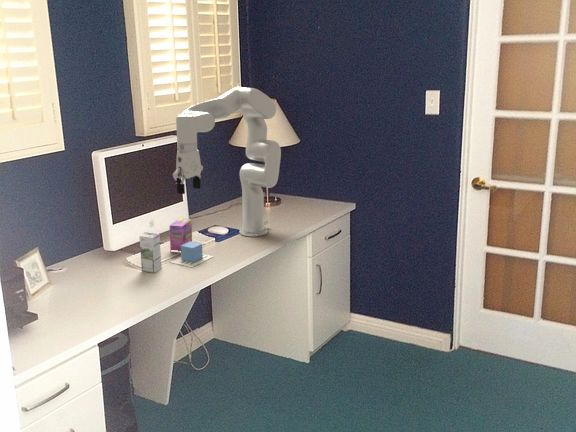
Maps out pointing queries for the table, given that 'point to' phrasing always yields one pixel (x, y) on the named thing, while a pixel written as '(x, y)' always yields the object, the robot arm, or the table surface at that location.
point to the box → (180, 233)
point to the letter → (190, 264)
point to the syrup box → (150, 252)
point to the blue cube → (191, 252)
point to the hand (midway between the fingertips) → (189, 190)
